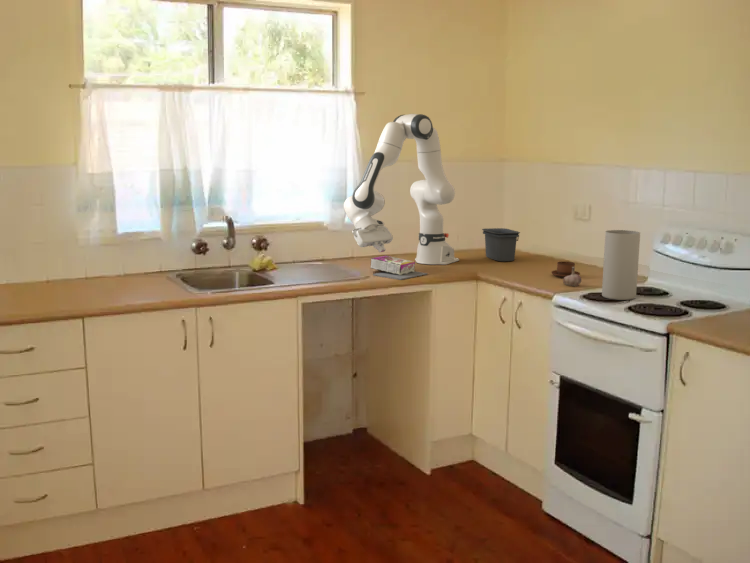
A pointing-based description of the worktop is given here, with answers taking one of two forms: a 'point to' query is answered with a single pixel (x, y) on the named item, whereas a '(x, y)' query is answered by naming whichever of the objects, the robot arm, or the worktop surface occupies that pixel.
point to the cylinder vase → (620, 264)
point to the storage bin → (500, 243)
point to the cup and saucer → (564, 269)
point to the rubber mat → (400, 277)
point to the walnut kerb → (377, 271)
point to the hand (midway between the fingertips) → (382, 251)
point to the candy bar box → (392, 265)
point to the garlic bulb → (572, 279)
